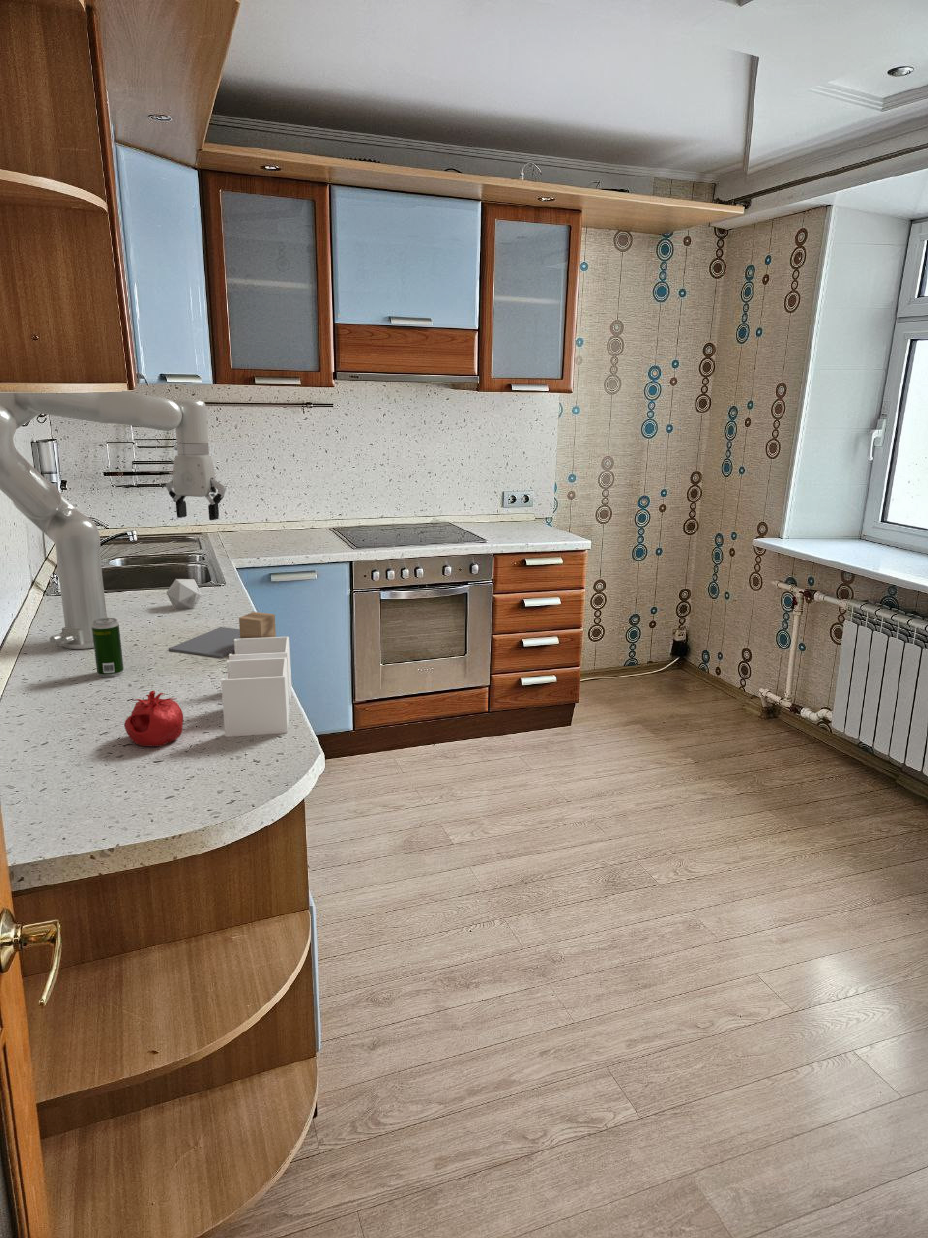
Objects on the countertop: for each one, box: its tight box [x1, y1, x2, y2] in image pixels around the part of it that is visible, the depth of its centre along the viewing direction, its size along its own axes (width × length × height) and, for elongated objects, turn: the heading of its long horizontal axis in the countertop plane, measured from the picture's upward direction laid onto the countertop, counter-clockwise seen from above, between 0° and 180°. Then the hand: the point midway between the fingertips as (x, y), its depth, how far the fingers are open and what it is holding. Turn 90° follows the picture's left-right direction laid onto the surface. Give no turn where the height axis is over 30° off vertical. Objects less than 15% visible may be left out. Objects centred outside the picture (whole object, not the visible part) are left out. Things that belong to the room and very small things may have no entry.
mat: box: [168, 626, 240, 659], centre depth 198 cm, size 20×15×1 cm
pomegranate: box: [123, 690, 184, 747], centre depth 142 cm, size 10×10×9 cm
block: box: [238, 611, 277, 639], centre depth 194 cm, size 6×6×8 cm
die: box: [165, 578, 203, 610], centre depth 229 cm, size 8×9×10 cm
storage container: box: [220, 636, 292, 737], centre depth 156 cm, size 25×11×11 cm, turn 10°
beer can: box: [92, 617, 124, 678], centre depth 174 cm, size 5×5×12 cm
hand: (197, 518), depth 206 cm, fingers open, 9 cm apart
